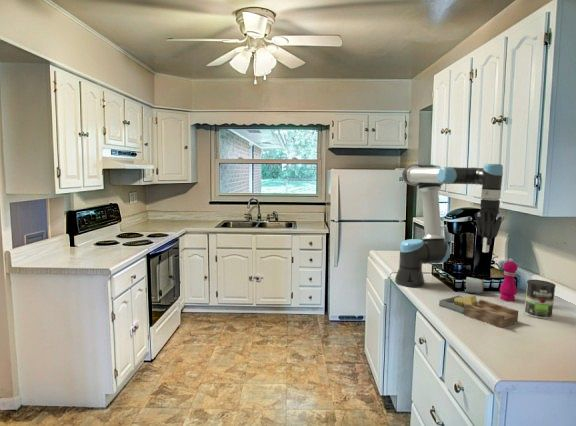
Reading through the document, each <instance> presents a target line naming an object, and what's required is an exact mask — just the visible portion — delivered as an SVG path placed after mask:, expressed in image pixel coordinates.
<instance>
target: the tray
mask: <svg viewBox="0 0 576 426" xmlns="http://www.w3.org/2000/svg"><path fill="white" fill-rule="evenodd" d="M457 297H463V296H461V295H455V296H451V297H447V298H444V299H439V303H438V306H439V307H441V308H445V309H448V310H450V311H454V312H457V313H459V314H463V315H464V309H465V307H464V308H463V307H460V306H457V305H454V298H457ZM478 304H479V300H477V305H478Z"/></svg>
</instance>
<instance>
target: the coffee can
mask: <svg viewBox="0 0 576 426" xmlns="http://www.w3.org/2000/svg"><path fill="white" fill-rule="evenodd" d="M526 283H527V286H526V293H525V303H524V305H525V306H524V314H525V315H527V316H528V317H529V316H530V317H532V318H536V319H540V320H550V319H552V318H553V309H554V300H555V292H556V291H555V290H556V284H555V283H553V282H551V281H546V280H541V279H528V280H527V281H526Z"/></svg>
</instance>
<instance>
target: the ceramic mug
mask: <svg viewBox="0 0 576 426" xmlns="http://www.w3.org/2000/svg"><path fill="white" fill-rule="evenodd" d="M484 283H485V282H484V279H480V278H475V277H469V276H466V278H465V285H466V289H465V288H464V292H465V293H468V294H469V293H470V294H478V295H481V294H483V293H484V286H485V285H484Z"/></svg>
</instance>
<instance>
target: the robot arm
mask: <svg viewBox="0 0 576 426" xmlns="http://www.w3.org/2000/svg"><path fill="white" fill-rule="evenodd" d="M503 175H504V166H503V165H502V164H501V163H485V164H484V165H483V167H472V166H471V167H455V166H453V167H452V166H443V167H441V165H437V164H436V165H435V164H417V163H416V164H410V165H408V166H406V167H405V168H404V169H403V171H402V175H401V177H402V180H403V181H404V182H405V184H407V185H410V186H414V187H415V186H417V187H418V191H419V192H421V199H422V211H423V212H422V214H423V229H424V230H423V231H424V236H423V237H422V238H421V239H419V238H415V239H414V238H410V239H406V240H405V239H404V240H403V241H401V243H400V248H399V262H398V263H399V265H398V266H399V267H398V270H397V272H396V275H395V278H394V283H396V284H397V285H400V286H402V287H403V286H404V287H409V288H419V287H420V288H421V287H423V286H424V285H425V278H424V274H423V265H425V264H426V265H427V264H428V265H429V264H442V263H446V262H447V261H448V259H450V255H451V246H450V245H449V243H448V241H446V240H445V236H443V235H442V226H441V224H442V223H441V213H440V211H441V210H440V198H439V196H440V195H439V191H440V190H441V188H442V186H443V185H481V195H480V197H481V198H482V199H480V204H479V205H480V209H479V211H478V212H477V213H474V218H475V221H476V230H477V236H480V237H481V245H482V250H481V251H482V253H489V252H490V246H491V245H492V244H493V243H492V241H493V238H497V237H498V234H499V231H500V228H501V225H502V222H503V221H504V219H505V217H504V216H502V215H501V214H500V207H501V206H500V203H501V201H500V199H501V195H502V183H503Z"/></svg>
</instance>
